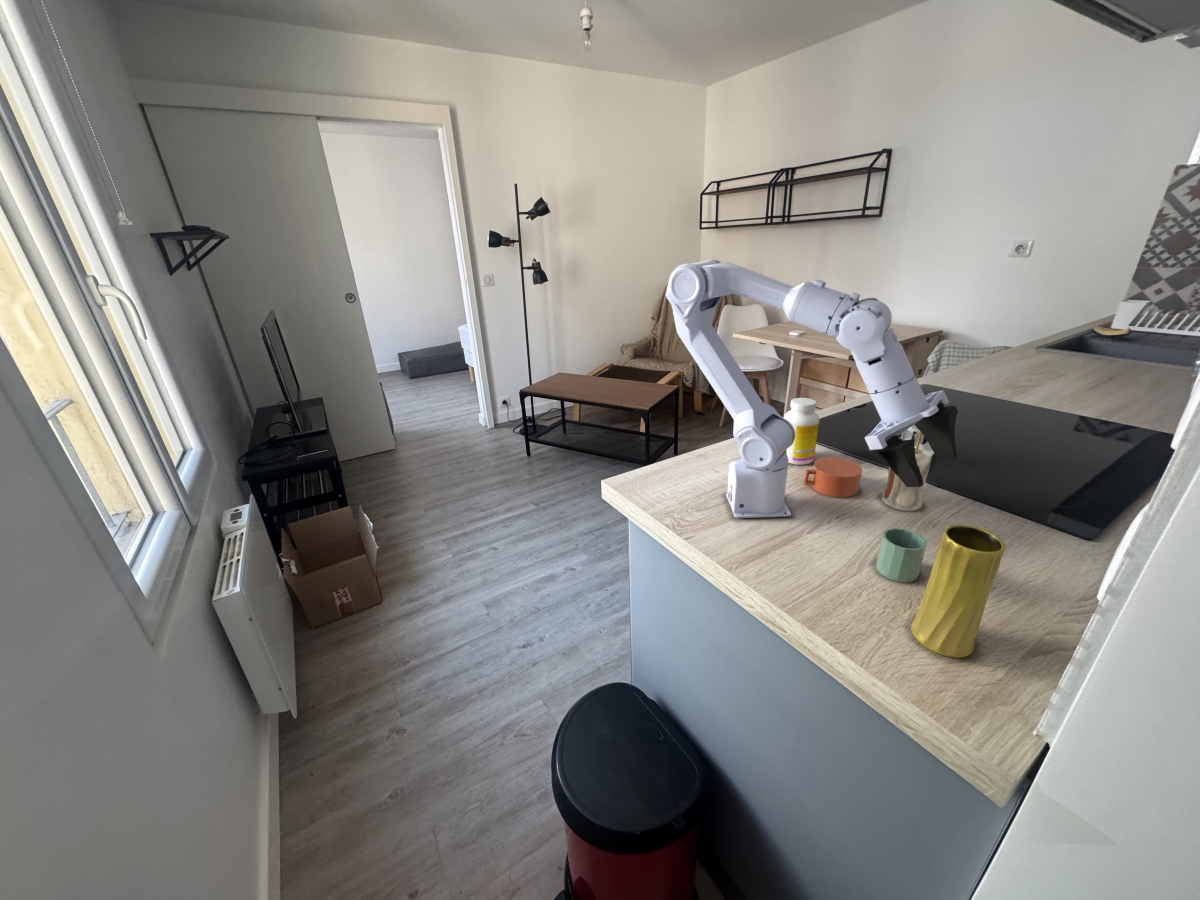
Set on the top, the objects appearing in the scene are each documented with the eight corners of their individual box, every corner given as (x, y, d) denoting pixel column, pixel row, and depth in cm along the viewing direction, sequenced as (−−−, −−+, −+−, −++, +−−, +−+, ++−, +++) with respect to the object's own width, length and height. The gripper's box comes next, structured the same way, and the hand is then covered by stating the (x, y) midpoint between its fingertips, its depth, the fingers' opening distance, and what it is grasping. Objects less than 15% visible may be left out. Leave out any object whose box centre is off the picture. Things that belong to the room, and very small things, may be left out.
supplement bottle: (820, 459, 98) (829, 401, 92) (801, 469, 94) (809, 409, 89) (792, 449, 103) (799, 393, 97) (773, 458, 100) (779, 401, 94)
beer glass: (931, 513, 78) (955, 430, 71) (885, 511, 79) (904, 429, 73) (915, 492, 84) (935, 414, 78) (872, 490, 85) (889, 414, 79)
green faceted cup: (887, 583, 64) (895, 550, 62) (869, 559, 68) (876, 528, 66) (925, 582, 63) (934, 549, 61) (904, 558, 68) (913, 527, 66)
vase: (899, 621, 58) (925, 524, 52) (946, 615, 58) (978, 519, 52) (935, 661, 52) (969, 559, 46) (987, 655, 53) (1028, 552, 47)
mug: (847, 475, 91) (850, 456, 89) (866, 496, 84) (870, 476, 82) (795, 477, 92) (798, 458, 90) (810, 498, 84) (813, 478, 83)
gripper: (883, 401, 58) (928, 498, 58) (953, 355, 62) (993, 446, 63) (838, 410, 64) (878, 497, 65) (904, 369, 69) (941, 450, 70)
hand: (932, 472), depth 65 cm, fingers open, 7 cm apart
